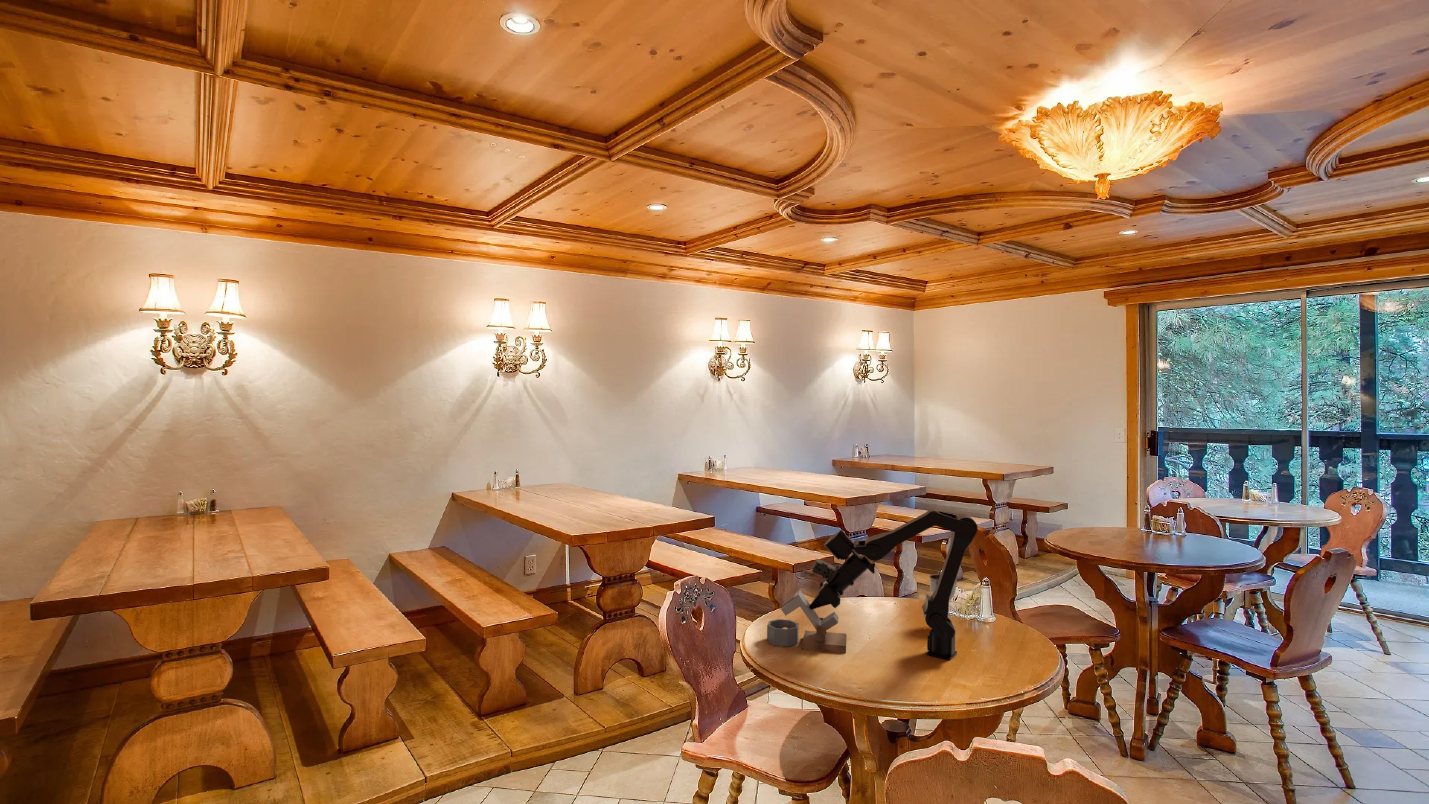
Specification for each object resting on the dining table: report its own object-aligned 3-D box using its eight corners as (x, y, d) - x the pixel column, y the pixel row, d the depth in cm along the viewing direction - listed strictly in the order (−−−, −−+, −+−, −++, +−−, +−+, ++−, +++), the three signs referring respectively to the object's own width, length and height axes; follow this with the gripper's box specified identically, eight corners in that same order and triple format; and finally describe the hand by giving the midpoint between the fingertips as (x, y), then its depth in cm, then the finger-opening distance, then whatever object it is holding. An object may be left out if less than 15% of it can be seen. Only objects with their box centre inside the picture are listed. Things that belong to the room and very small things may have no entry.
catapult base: (846, 640, 207) (846, 618, 207) (845, 653, 197) (846, 629, 197) (804, 637, 209) (805, 615, 209) (802, 649, 200) (802, 626, 199)
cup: (799, 637, 209) (799, 620, 209) (796, 648, 201) (796, 630, 200) (769, 635, 211) (769, 618, 211) (765, 645, 202) (766, 628, 202)
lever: (839, 618, 205) (813, 580, 207) (839, 625, 200) (811, 586, 201) (807, 639, 207) (781, 601, 208) (806, 646, 201) (779, 607, 203)
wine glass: (923, 622, 223) (924, 575, 223) (944, 620, 226) (945, 573, 226) (940, 631, 216) (940, 581, 216) (961, 628, 219) (962, 579, 218)
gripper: (830, 543, 212) (793, 578, 214) (827, 558, 193) (786, 596, 196) (857, 571, 210) (819, 606, 213) (857, 588, 192) (815, 627, 194)
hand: (810, 608), depth 204 cm, fingers closed, pressing on lever
